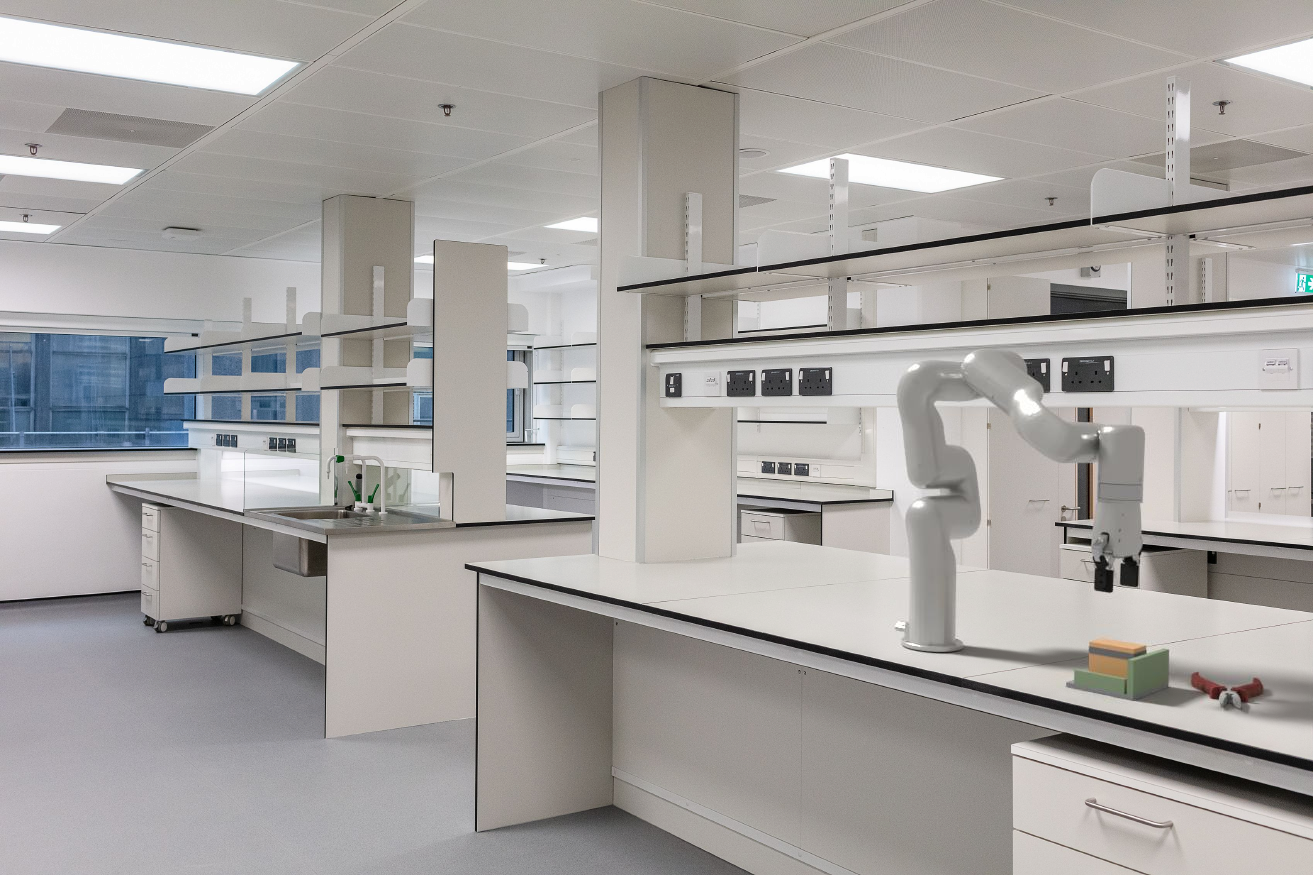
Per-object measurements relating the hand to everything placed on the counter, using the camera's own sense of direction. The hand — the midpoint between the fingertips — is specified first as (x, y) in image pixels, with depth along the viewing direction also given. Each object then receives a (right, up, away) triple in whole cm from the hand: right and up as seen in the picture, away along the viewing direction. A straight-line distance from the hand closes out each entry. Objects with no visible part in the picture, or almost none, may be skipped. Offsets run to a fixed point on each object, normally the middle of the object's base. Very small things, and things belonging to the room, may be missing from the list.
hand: (1116, 588), depth 189 cm
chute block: (0, -17, 0) cm, 17 cm away
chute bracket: (0, -18, 0) cm, 18 cm away
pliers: (+16, -19, -5) cm, 25 cm away
